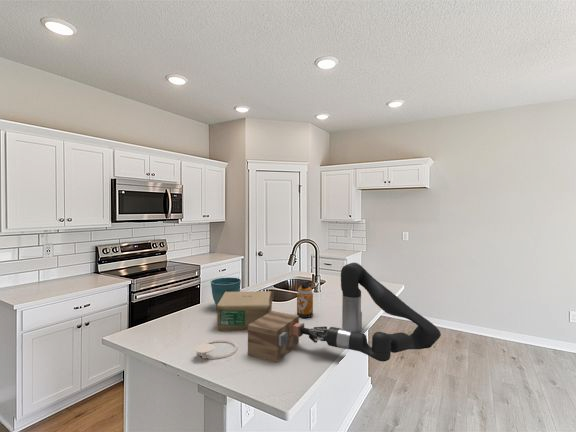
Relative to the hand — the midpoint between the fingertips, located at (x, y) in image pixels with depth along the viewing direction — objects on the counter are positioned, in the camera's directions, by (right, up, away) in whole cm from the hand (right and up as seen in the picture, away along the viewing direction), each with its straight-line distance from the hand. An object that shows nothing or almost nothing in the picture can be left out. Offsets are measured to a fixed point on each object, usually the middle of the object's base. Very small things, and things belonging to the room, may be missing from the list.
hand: (302, 330), depth 138 cm
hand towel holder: (-37, -9, -3) cm, 38 cm away
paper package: (-29, -7, +31) cm, 43 cm away
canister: (+4, -7, +42) cm, 43 cm away
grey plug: (-14, -2, -6) cm, 15 cm away
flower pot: (-44, -6, +53) cm, 69 cm away
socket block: (-11, -8, 0) cm, 14 cm away
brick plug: (-7, -2, +4) cm, 8 cm away
